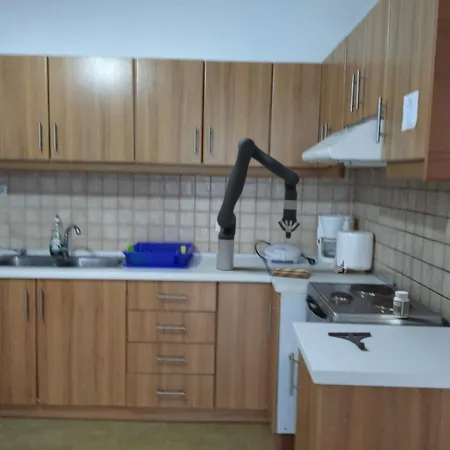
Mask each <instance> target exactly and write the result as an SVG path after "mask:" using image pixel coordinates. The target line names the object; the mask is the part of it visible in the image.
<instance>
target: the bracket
mask: <svg viewBox="0 0 450 450" xmlns="http://www.w3.org/2000/svg"><path fill="white" fill-rule="evenodd" d="M327 335H328V336H329V337H332V338H339V339H343V340H346V341H349V342H351V343H354V345H356V347H357V348H358V349H359V350H360V351H365V350H366V345H365V342H363V341H360V340H362V339H366V338H370V337H371V336H372V334H371V332H370V331H367V332H366V331H365V332H363V331H360V332H357V331H355V332H354V331H353V332H351V331H350V332H347V331H346V332H343V331H342V332H339V331H337V332H335V331H334V332H333V331H332V332H329V331H328V332H327Z"/></svg>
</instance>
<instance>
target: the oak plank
mask: <svg viewBox="0 0 450 450" xmlns="http://www.w3.org/2000/svg"><path fill="white" fill-rule="evenodd" d="M275 270H284V271H297V272H308V276H309V275H310V271H311V270H310V269H304V268H303V269H301V268H290V267H279V266H278V267H277V268H275Z"/></svg>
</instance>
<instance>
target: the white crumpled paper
mask: <svg viewBox="0 0 450 450" xmlns="http://www.w3.org/2000/svg"><path fill="white" fill-rule="evenodd" d="M343 267H344V260H343V262H342V264H341V265H340V266H338V265H337V255H335V256H334V258H333V260H332V263H331V264H329V266H328V269H330V271H332V272H334V273H335V274H338V273H339V272H340V273H343V274H346V273H347V270H348V268H347V269H344V268H343Z"/></svg>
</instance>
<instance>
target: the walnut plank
mask: <svg viewBox="0 0 450 450" xmlns="http://www.w3.org/2000/svg"><path fill="white" fill-rule="evenodd" d="M271 274H272V277H278V278H279V277H280V278H290V279H291V278H293V279H301V280H302V279H304V280H306V279H307V278H308V276H309V275H308V272H297V271H284V270H276V269H274V271H273V272H272V273H271Z"/></svg>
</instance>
